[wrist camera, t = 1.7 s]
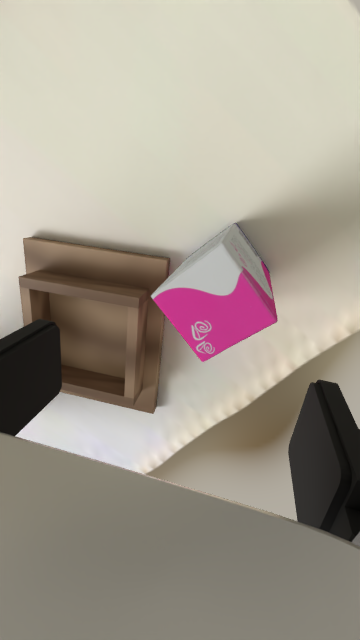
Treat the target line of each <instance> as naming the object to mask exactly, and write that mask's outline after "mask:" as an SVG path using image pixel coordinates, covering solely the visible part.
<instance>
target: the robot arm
mask: <svg viewBox="0 0 360 640" xmlns="http://www.w3.org/2000/svg"><path fill="white" fill-rule="evenodd" d="M61 387H62V372H61V346H60V329H59V327H58V326H57V325H56V323H55V322H53V321H48V320H43V319H37V320H36V321H34V322H32V323H30V324H28V325H26V326H24V327H23V328H21V329H19V330H17V331H15V332H13V333H11V334H9V335H8V336H6V337H4V338H2V339H0V640H360V429H358V427H357V425H356V423H355V421H354V418H353V416H352V414H351V412H350V410H349V408H348V405H347V403H346V401H345V399H344V397H343V395H342V392H341V390H340V388H339V386H338V384H336V383H332V382H328V381H323V380H318V381H317V382H316V383H310V385H309V388H308V391H307V394H306V397H305V400H304V403H303V406H302V408H301V411H300V414H299V417H298V420H297V423H296V426H295V429H294V432H293V435H292V437H291V440H290V444H289V452H288V453H289V461H290V468H291V476H292V483H293V490H294V498H295V505H296V512H297V520H298V522H297V521H294V520H291V519H288V518H285V517H283V516H280V515H277V514H274V513H271V512H267V511H264V510H261V509H257V508H254V507H251V506H248V505H244V504H241V503H238V502H235V501H231V500H228V499H225V498H221V497H218V496H215V495H211V494H208V493H205V492H202V491H198V490H195V489H192V488H188V487H185V486H182V485H178V484H175V483H172V482H168V481H165V480H162V479H158V478H155V477H152V476H148V475H145V474H142V473H138V472H135V471H132V470H128V469H125V468H121V467H118V466H115V465H111V464H108V463H104V462H101V461H98V460H94V459H91V458H88V457H84V456H81V455H77V454H74V453H70V452H67V451H64V450H60V449H57V448H53V447H50V446H47V445H43V444H40V443H36V442H33V441H29V440H26V439H22V438H19V437H15V435H16V434H18V433H19V432H20V431H21V430H22V429H23V428H24V427H25V426H26V425H27V424H28V423H29V422H30V421H31V420H32V419H33V418H34V417H35V416H36V415H37V414H38V413H39V412H40V411H41V410H42V409H43V408H44V407H45V406H46V405H47V404H48V403H49V402H50V401H52V400H53V399H54V398H55V397H56V396H57V395H58V394H59V392H60V390H61Z"/></svg>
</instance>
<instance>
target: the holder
mask: <svg viewBox="0 0 360 640" xmlns="http://www.w3.org/2000/svg"><path fill="white" fill-rule="evenodd" d="M23 244H24V254H25V264H26V275H23V276H20V277H19V285H20V295H21V304H22V313H23V322H24V326H26V325H28V324H30V323H32V322H34V321H36V320H37V319H43V320H48V321H53V322H55V323H56V325H57V326H58V327H59V329H60V346H61V372H62V387H61V390H60V392H63V393H67V394H72V395H76V396H80V397H84V398H88V399H93V400H97V401H101V402H105V403H110V404H114V405H118V406H122V407H126V408H131V409H135V410H139V411H143V412H148V413H152V414H153V413H154V411H155V409H156V404H157V393H158V382H159V371H160V361H161V350H162V339H163V328H164V317H165V314H164V313H163V311H162V310H161V309H160V308H159V306H158V305H157V304H156V303H155V301H154V300H153V299H152V297H151V295H152V294H153V293H154V292H155V291H156V290H157V289H158V288H159V287H160V285H161V284H163V283H164V282H165V281H166V280H167V278H168V274H169V264H170V258H164V257H158V256H151V255H145V254H138V253H131V252H125V251H118V250H112V249H105V248H98V247H92V246H85V245H79V244H72V243H66V242H59V241H52V240H46V239H39V238H33V237H29V238H24V239H23Z"/></svg>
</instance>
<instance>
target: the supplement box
mask: <svg viewBox="0 0 360 640" xmlns="http://www.w3.org/2000/svg"><path fill="white" fill-rule="evenodd" d="M151 297H152V299H153V300H154V301H155V303H156V304H157V305H158V306H159V308H160V309H161V310H162V311H163V313H164V314H165V315H166V316H167V318H168V319H169V320H170V322H171V323H172V324H173V325H174V327H175V328H176V329H177V330H178V332H179V333H180V334H181V335H182V337H183V338H184V339H185V341H186V342H187V343H188V344H189V346H190V347H191V348H192V350H193V351H194V352H195V353H196V355H197V356H198V357H199V358H200V360H201V361H202V362H204V361H206V360H208V359H210V358H211V357H213V356H215V355H217V354H219V353H220V352H222V351H224V350H225V349H227V348H229V347H231V346H233V345H235V344H236V343H238V342H240V341H242V340H244V339H246V338H248V337H250V336H251V335H253V334H255V333H257V332H259V331H261V330H263V329H264V328H266V327H268V326H270V325H272V324H274V323H276V322H277V321H278V320H277V314H276V308H275V303H274V297H273V292H272V287H271V281H270V275H269V271H268V269H267V267H266V266H265V264H264V263H263V261H262V260H261V258H260V257H259V255H258V254H257V252H256V251H255V249H254V248H253V246H252V245H251V243H250V242H249V240H248V239H247V238H246V236H245V235H244V233H243V232H242V230H241V229H240V228H239V226H238V225H237V223H234V224H232V225H231V226H229V227H228V228H227V229H225V230H224V231H223V232H221V233H220V234H218V235H217V236H216V237H214V238H213V239H212V240H210V241H209V242H208V243H206V244H205V245H204V246H202V247H201V248H200V249H198V250H197V251H196V252H194V253H193V254H192V255H190V256H189V257H188V258H187V259H186V260H185V261H184V262H183V263H182V264H181V265H180V266H179V267H178V268H177V269H176V270H175V271H174V272H173V273H172V274H171V275H170V276H169V277H168V278H167V280H166V281H165V282H164V283H163V284H161V285H160V287H159V288H158V289H157V290H156V291H155V292H154V293H153V294H152V295H151Z"/></svg>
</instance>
